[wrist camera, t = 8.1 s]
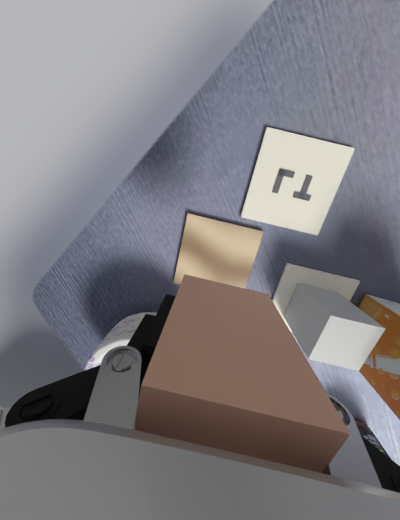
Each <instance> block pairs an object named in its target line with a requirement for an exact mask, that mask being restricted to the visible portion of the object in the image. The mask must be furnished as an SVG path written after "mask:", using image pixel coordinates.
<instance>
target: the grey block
mask: <svg viewBox="0 0 400 520" xmlns="http://www.w3.org/2000/svg"><path fill="white" fill-rule="evenodd" d="M284 318H285V320H286V322H287V324H288V325H289V327H290V329H291V330H292V332H293V334H294V335H295V337H296V339H297V341H298V342H299V344H300V346H301V347H302V349H303V351H304V352H305V354H306V356H307V357H308V359H311V360H315V361H319V362H323V363H327V364H332V365H336V366H340V367H344V368H348V369H352V370H357V371H359V370H360V368H361V367H362V365H363V363H364V362H365V360H366V359H367V357H368V356H369V354H370V353H371V351H372V349H373V348H374V346H375V345H376V343H377V342H378V340H379V338H380V337H381V335H382V334H383V332H384V331H385V328H384V327H383V326H381V325H380V324H379V323H377V322H376V321H375V320H373V319H372V318H371V317H370V316H368V315H367V314H366V313H364V312H363V311H362V310H360V309H359V308H358V307H356V306H355V305H354V304H352V303H351V302H350V301H348V300H347V299H346V298H344V297H343V296H342V295H340V294H339V293H338V292H334V291H330V290H326V289H322V288H317V287H313V286H309V285H305V284H301V283H298V284H297V286H296V289H295V291H294V293H293V296H292V298H291V300H290V303H289V305H288V307H287V310H286V312H285V314H284Z"/></svg>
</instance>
